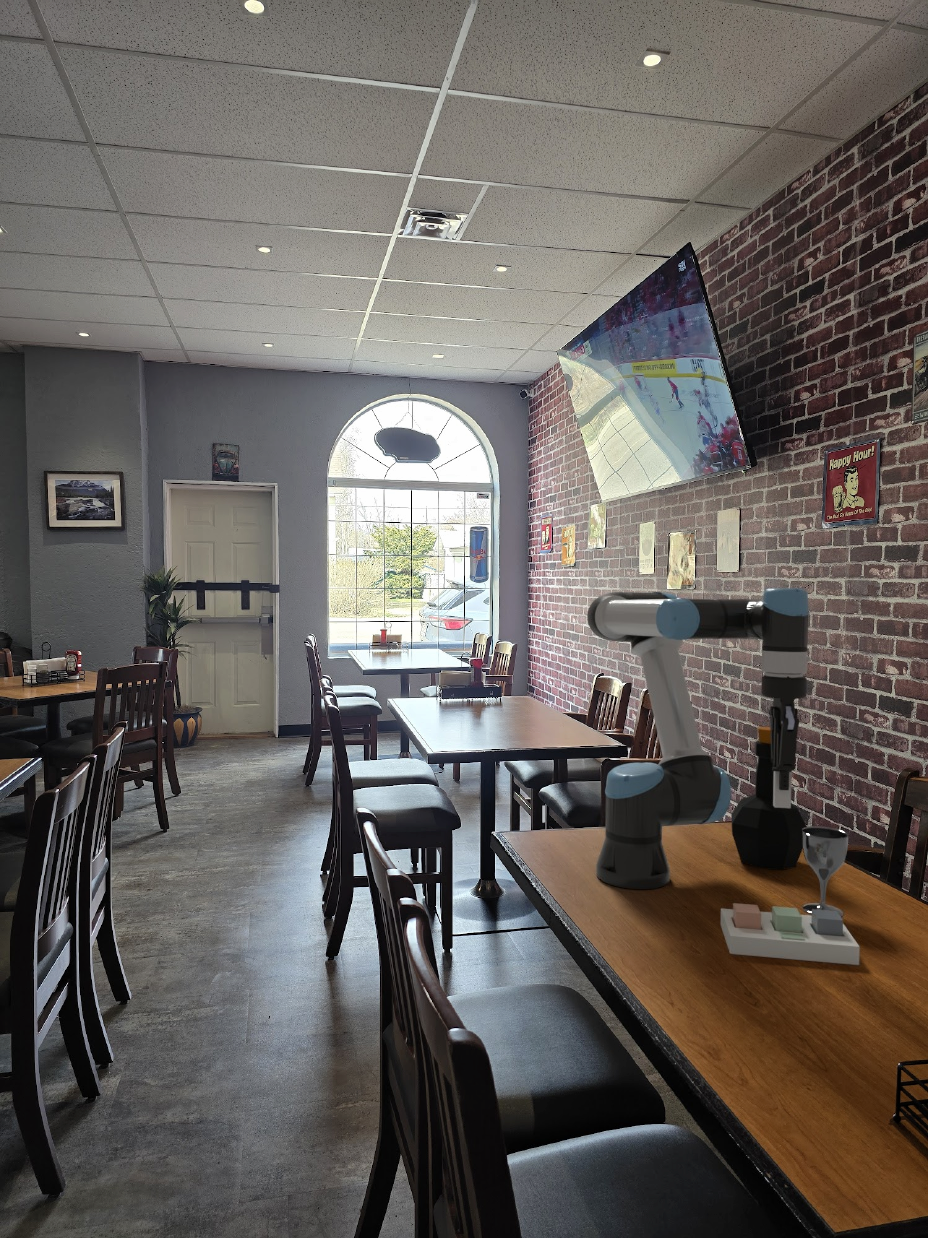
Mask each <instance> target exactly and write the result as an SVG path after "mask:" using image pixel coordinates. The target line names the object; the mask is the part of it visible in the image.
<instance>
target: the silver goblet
mask: <svg viewBox="0 0 928 1238" xmlns="http://www.w3.org/2000/svg"><path fill="white" fill-rule="evenodd" d="M848 843H849V834H848V833H847V832H846V831H844V830H841V829H837V828H834V827H828V826H818V825H817V826H816V825H815V826H814V825H812V826H807V827H805V828H803V829H802V847H803V849H802V851H803V857H804V859H805V861H806V863H807V864H808V865H809V867H810V868H811V869H812V870H813V872H814V874H816V877H817V878H818V880H819V887H820V902H819V903H816V902H814V903H813V902H812V903H810V902H809V903H805V904H804V905H803V906H802V910H803V911H804V912H805V913H807V914H808V915H811V916H812V909H815V910H828V911H837V912H838V914H839V915H840V917H841V918H842V917H843V916H844V912H843V910H841V909H840V908H838V907H835V906H833V905H830V904H826V903H827V902H826V893H827V885H828V883H829V881H830V878H831V877H832V876H833V875H834V874H835V873H836V872H837V871H838V870H839V869H840V868H841V867H842V866H843V865H844V863H845V860H846V856H847V852H848Z"/></svg>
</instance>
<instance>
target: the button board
mask: <svg viewBox="0 0 928 1238" xmlns="http://www.w3.org/2000/svg"><path fill="white" fill-rule="evenodd" d="M760 912H761V930H758V929H746V928H735V926H734V923H733V908H731V909H730V908H720V927H721V930H722V934H723V936H724V939H725V943H726V945H727V950H728V952H729V954H730V955H737V956H738V955H739V956H740V955H741V956H750V957H752V956H753V957H764V958H775V959H783V960H784V959H785V960H797V961H807V962H808V961H810V962H818V963H819V962H821V963H830V964H842V965H843V964H844V965H854V966H860V945H859V944H858V942H857V941H856V939H855V938H854V937H853V936H852V934H851V933H850V931H849V930H848V928H847V926H846V925H845V924H844V923H843V936H831V935H819V934H815V932H814V930H813V929H812V927H811V923H812V915H811V914H800V915H801V916H802V931H801V933H795V932H782V931H775V930H774V928H773V926H772V911H760Z"/></svg>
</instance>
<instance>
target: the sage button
mask: <svg viewBox="0 0 928 1238" xmlns="http://www.w3.org/2000/svg"><path fill="white" fill-rule="evenodd" d="M771 912H772V926H773V928H774V930H775V931H782V932H795V933H801V931H802V916H801V915H802V914H801V913H800V912H799V909H798V908H797V907H787V906H775V905H774V906H773V905H772V907H771Z"/></svg>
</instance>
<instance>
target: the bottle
mask: <svg viewBox="0 0 928 1238" xmlns="http://www.w3.org/2000/svg"><path fill="white" fill-rule="evenodd" d="M756 728H757V737H758V740H756V741H755V743H754V748H755V749H754V754H755V756H756V757H758V758H757V764H756V767H755V774H754V775H755V780H754V781H755V782H754V794H751V795H748V796H746V797H744V798H740V801H739V802H738V803H737V805H736V806H735V808H734V809H733V811H732V812H731V815H730V816H731V818H730V819H731V835H732V837H733V838H732V839H733V841H734V844H735V847H736V850H737V854H738V857H739V860H740V862H743V863H745V864H747V865H749V866H752V867H755V868H757V869H763V870H764V869H765V870H781V871H783V870H788V869H791V868H792V869H793V868H796V867H797V863H798V862H799V859H800V857H801V854H802V851H803V847H802V829H803V828H805V827H808V826H807V825H806V821H804V819H803V816H802V815H801V812H800V811H799V809H798V807H797V806H796V805H794V804H793V803H792V802H791V808H776V807H774V806H773V782H774V771H772V767H773V763H772V762H771V733H770V726H757V727H756Z"/></svg>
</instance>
